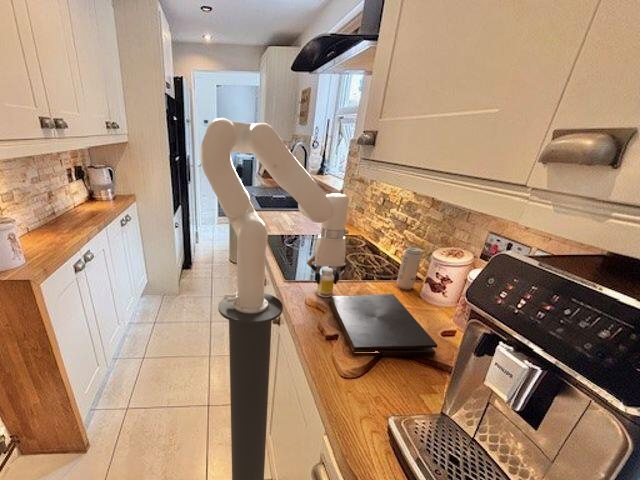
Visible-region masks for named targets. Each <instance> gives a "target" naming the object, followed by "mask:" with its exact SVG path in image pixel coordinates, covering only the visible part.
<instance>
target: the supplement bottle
mask: <svg viewBox="0 0 640 480" xmlns="http://www.w3.org/2000/svg"><path fill="white" fill-rule="evenodd" d="M333 275H334V268H332V267H328V266H325V267H321V271H320V282H319V284H317V290H316V294H317V295H318V296H319V297H322V298H329V297H330V298H331V296H333V292H334V285H335V284H334V276H333Z"/></svg>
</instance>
